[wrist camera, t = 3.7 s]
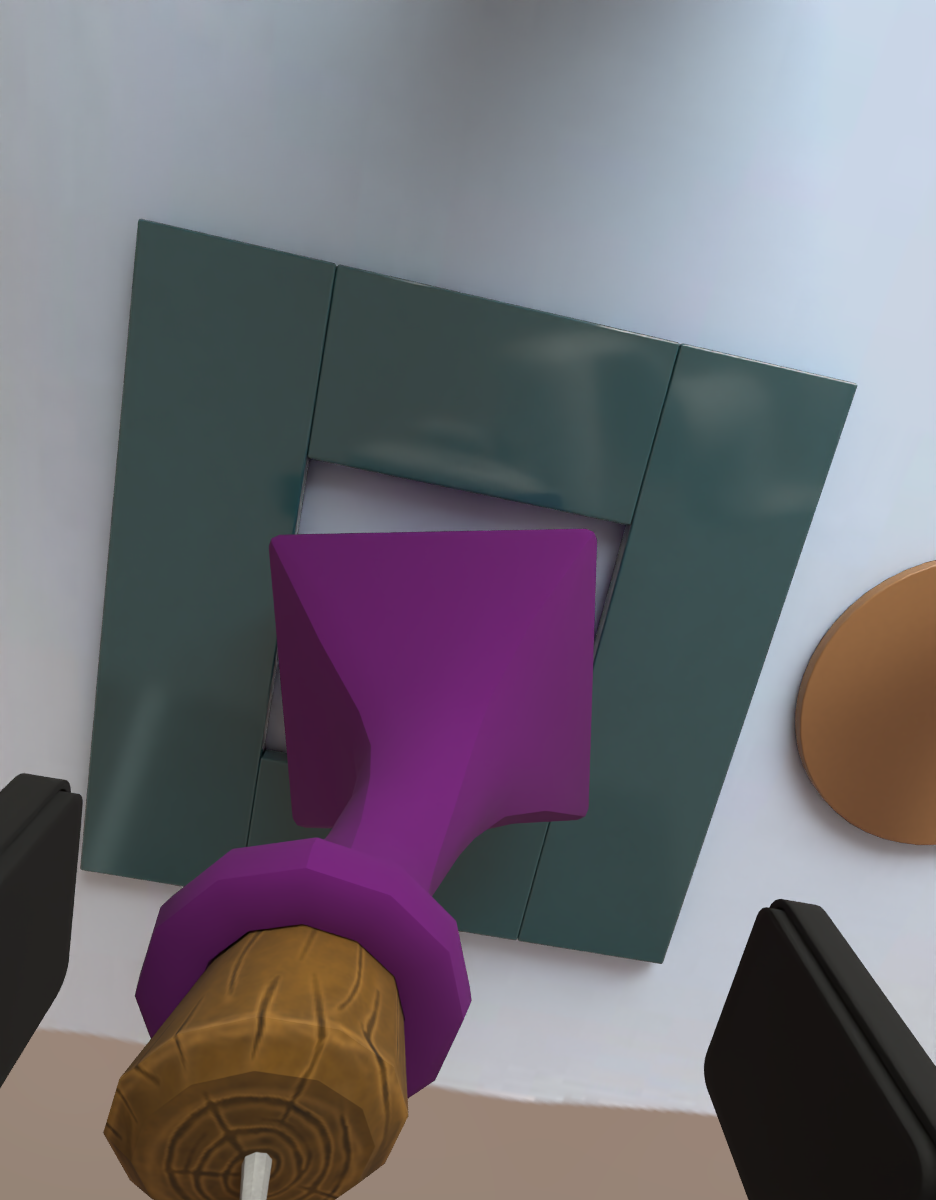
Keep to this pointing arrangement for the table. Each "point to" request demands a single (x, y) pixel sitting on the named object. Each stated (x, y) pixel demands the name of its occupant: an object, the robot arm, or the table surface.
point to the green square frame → (460, 461)
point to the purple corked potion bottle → (359, 858)
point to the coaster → (876, 710)
